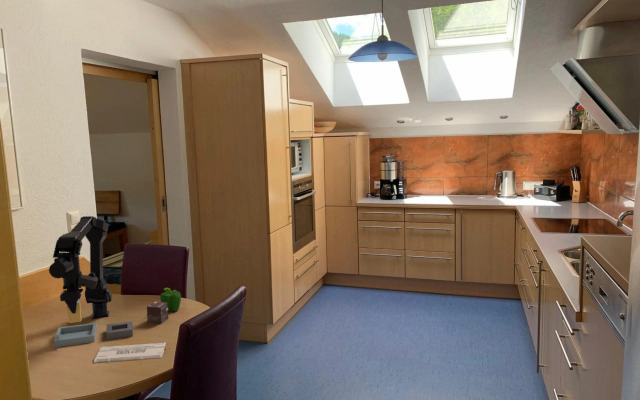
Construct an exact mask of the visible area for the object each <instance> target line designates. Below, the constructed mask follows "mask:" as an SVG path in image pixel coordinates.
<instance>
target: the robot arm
mask: <svg viewBox="0 0 640 400" xmlns="http://www.w3.org/2000/svg"><path fill="white" fill-rule="evenodd" d="M108 231H109V224H108V223H107V222H106V221H105V220H102V219H99V218H97V217H96V216H92V215H91V216H89V215H88V216H81V217H80V219H79V221H78V222H77V224H76V225H75V226H74V227H73V228H72V229H71V230H70V231H69V232H67V233H63V234H62V235H61V236H59V237H58V238H57V240H56V242H55V246H54V250H53V255H52V258H53V261H54V262H53V263H52V264H50V266H49V268H48V272H49V275H50V276H51V278H52V277H53V278H54V279H62V284H63V285H62V290H63V291H62V292H61V293H60V295H59V298H60V302H64V303H65V304H66V306H68V307H69V309H70V310H71V312H72V313H76V307H77V301H79V300H80V299H81V297H82V292H83V291H84V297H85V301H86V304H91V308H92V310H91V311H92V313H91V318H90V319H91V320H95V319H105V318H109V315H110V311H109V310H108V303H110V302H112V299H113V294H112V292H111V290H110V289H109V288H108V283H107V281H106V279H105V278H104V252H103V251H104V249H103V247H104V245H103V243H104V241H105V239H106V238H107V235H108ZM85 238H86V239H87V241H88V242H89V273H88V274H83V272H82V270H81V267H80V266H81V264H80V256H81V249H82V247H83V241H82V240H83V239H85ZM82 287H84V288H85V289H84V288H82Z"/></svg>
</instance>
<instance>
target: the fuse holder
mask: <svg viewBox="0 0 640 400" xmlns="http://www.w3.org/2000/svg"><path fill="white" fill-rule="evenodd" d="M133 322H134V321H133V320H132V321H131V320H130V321H124V322H117V323H109V324H106V332H105V336H106V337H105V338H106V341H108V340H115V339H124V338H131V337H133V336H134V324H133Z"/></svg>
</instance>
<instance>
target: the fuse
mask: <svg viewBox="0 0 640 400" xmlns="http://www.w3.org/2000/svg"><path fill="white" fill-rule="evenodd" d="M66 306H67V305H66ZM81 306H82V305H81V300H78V301H77V307H76V313H72V312H71V310H70V309H69V307H68V306H67V318H68V319H67V320H68V323H69V324H72V323H73V324H74V323H81V322H82V318H83V317H82V309H81V308H82V307H81Z"/></svg>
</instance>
